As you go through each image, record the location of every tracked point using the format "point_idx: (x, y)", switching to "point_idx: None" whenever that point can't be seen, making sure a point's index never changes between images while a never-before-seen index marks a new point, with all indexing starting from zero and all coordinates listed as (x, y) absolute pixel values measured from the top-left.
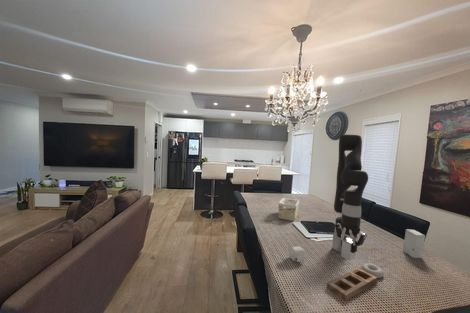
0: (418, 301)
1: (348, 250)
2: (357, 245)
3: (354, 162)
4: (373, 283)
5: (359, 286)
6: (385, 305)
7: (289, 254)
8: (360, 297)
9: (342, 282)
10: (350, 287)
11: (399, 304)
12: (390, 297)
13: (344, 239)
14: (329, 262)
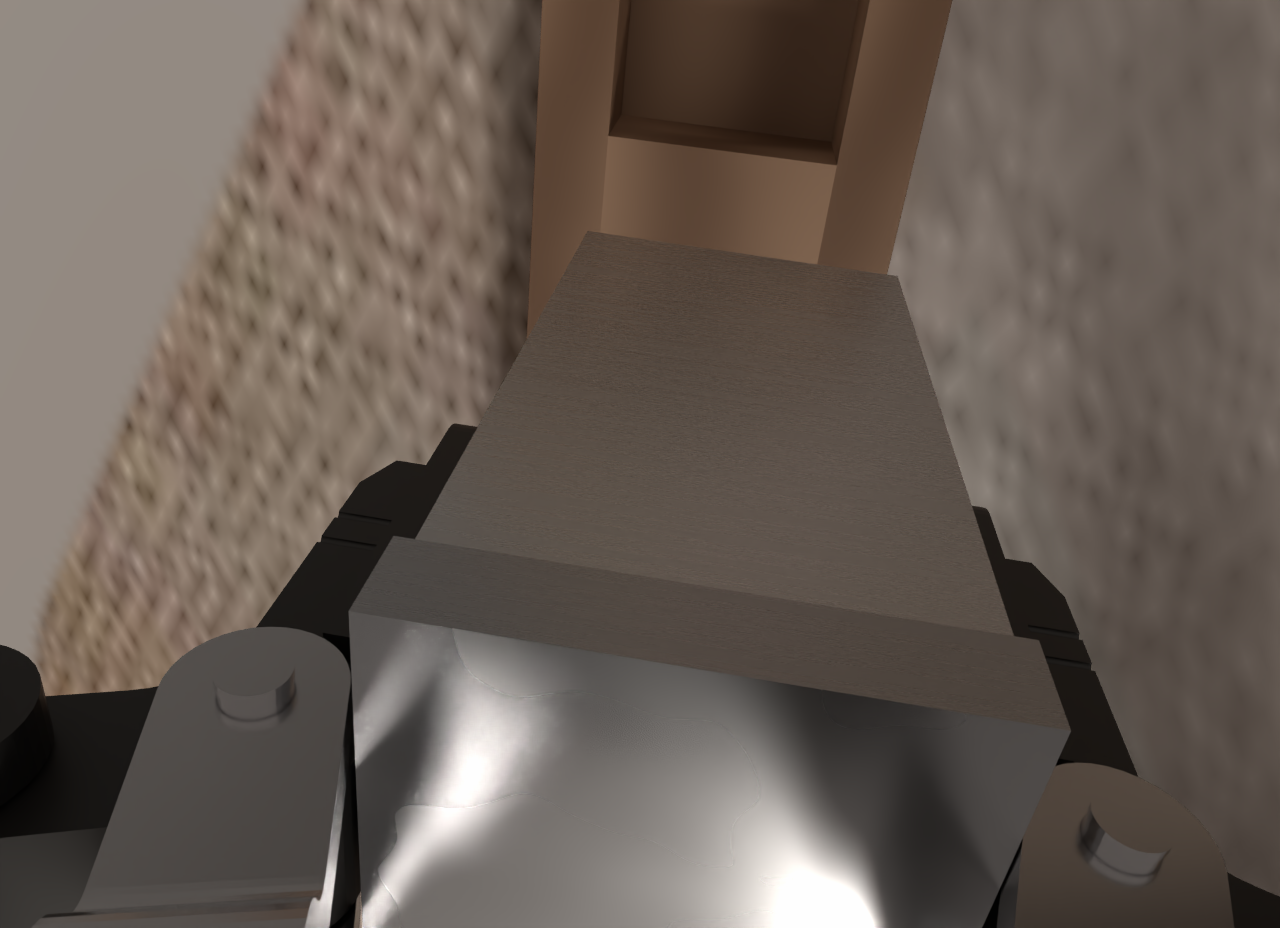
0: (144, 637)
1: (598, 380)
2: (17, 658)
3: None
4: None
5: (546, 258)
6: (250, 263)
7: None
8: (504, 132)
9: (799, 153)
10: (644, 131)
11: (193, 428)
12: (307, 478)
13: (923, 824)
14: (1208, 617)
